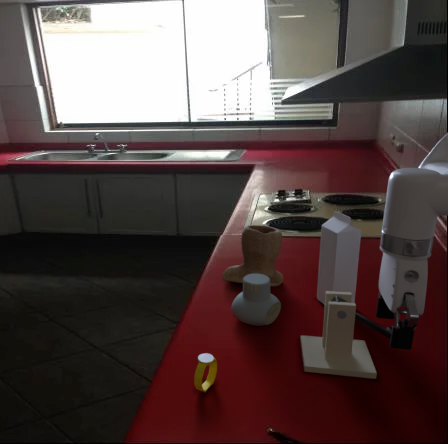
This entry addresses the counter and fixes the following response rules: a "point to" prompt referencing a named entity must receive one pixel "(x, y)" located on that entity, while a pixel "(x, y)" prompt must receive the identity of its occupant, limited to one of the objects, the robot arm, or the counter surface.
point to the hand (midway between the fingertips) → (392, 332)
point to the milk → (338, 256)
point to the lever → (368, 321)
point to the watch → (203, 361)
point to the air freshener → (256, 301)
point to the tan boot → (257, 255)
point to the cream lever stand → (337, 342)
